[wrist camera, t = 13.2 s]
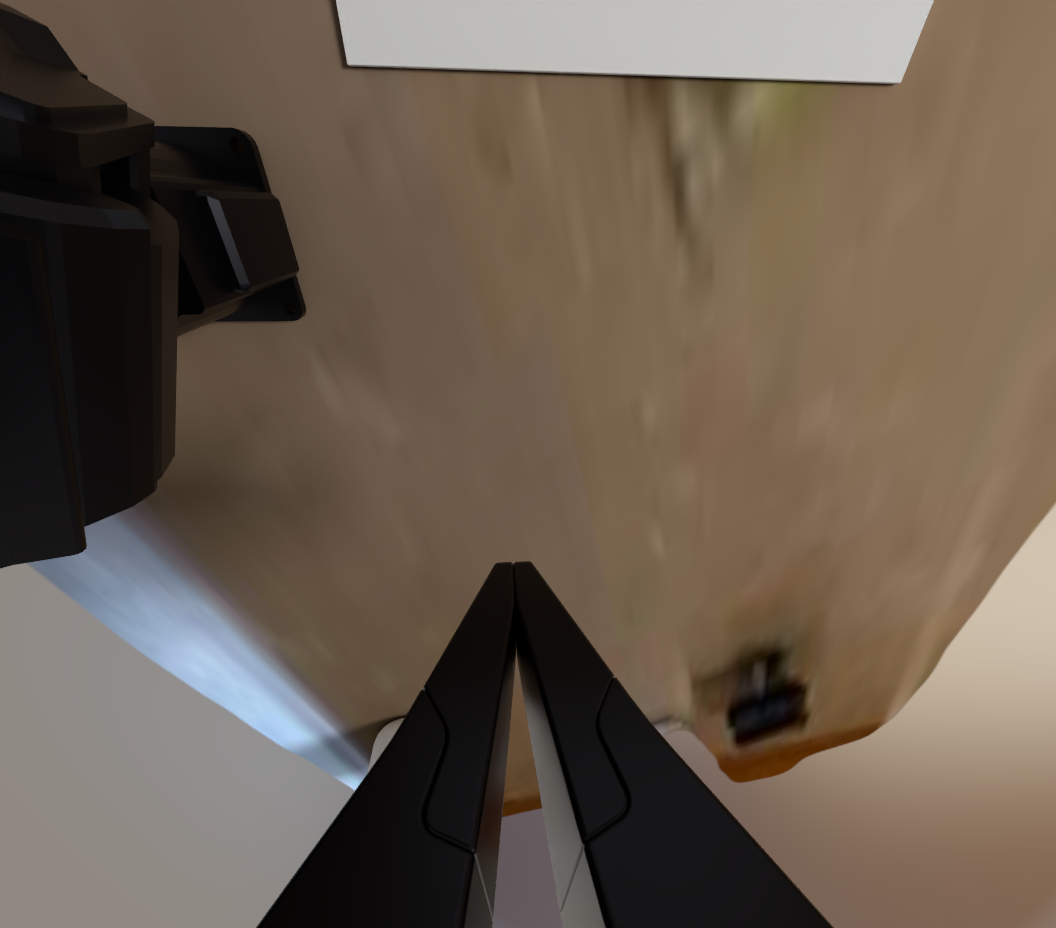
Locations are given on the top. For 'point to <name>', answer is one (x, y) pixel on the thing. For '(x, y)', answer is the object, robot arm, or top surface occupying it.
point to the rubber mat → (641, 37)
